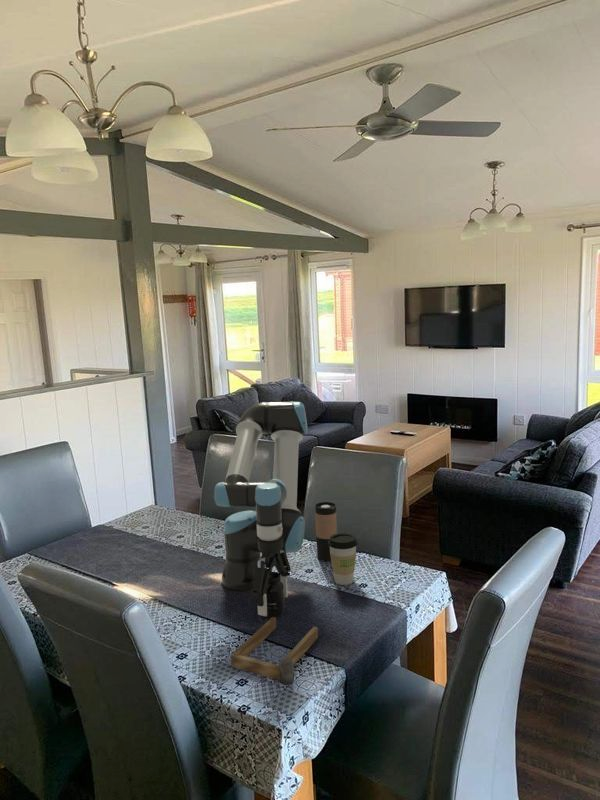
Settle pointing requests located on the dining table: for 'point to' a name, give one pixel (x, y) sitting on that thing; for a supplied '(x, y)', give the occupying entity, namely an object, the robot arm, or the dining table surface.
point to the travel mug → (325, 528)
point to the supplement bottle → (274, 595)
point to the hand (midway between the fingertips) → (273, 605)
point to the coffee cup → (343, 557)
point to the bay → (267, 669)
